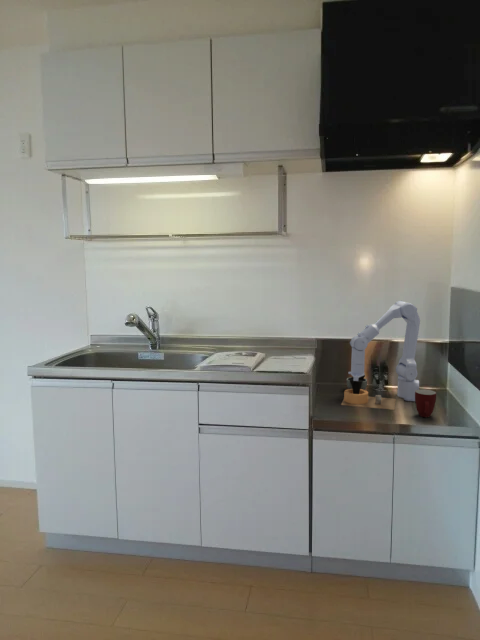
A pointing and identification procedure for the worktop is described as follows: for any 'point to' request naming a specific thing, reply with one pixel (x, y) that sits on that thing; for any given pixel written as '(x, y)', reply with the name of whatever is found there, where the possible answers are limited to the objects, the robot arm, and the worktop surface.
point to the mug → (425, 402)
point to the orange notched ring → (356, 396)
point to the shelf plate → (372, 404)
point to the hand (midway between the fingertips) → (357, 392)
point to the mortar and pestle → (363, 387)
